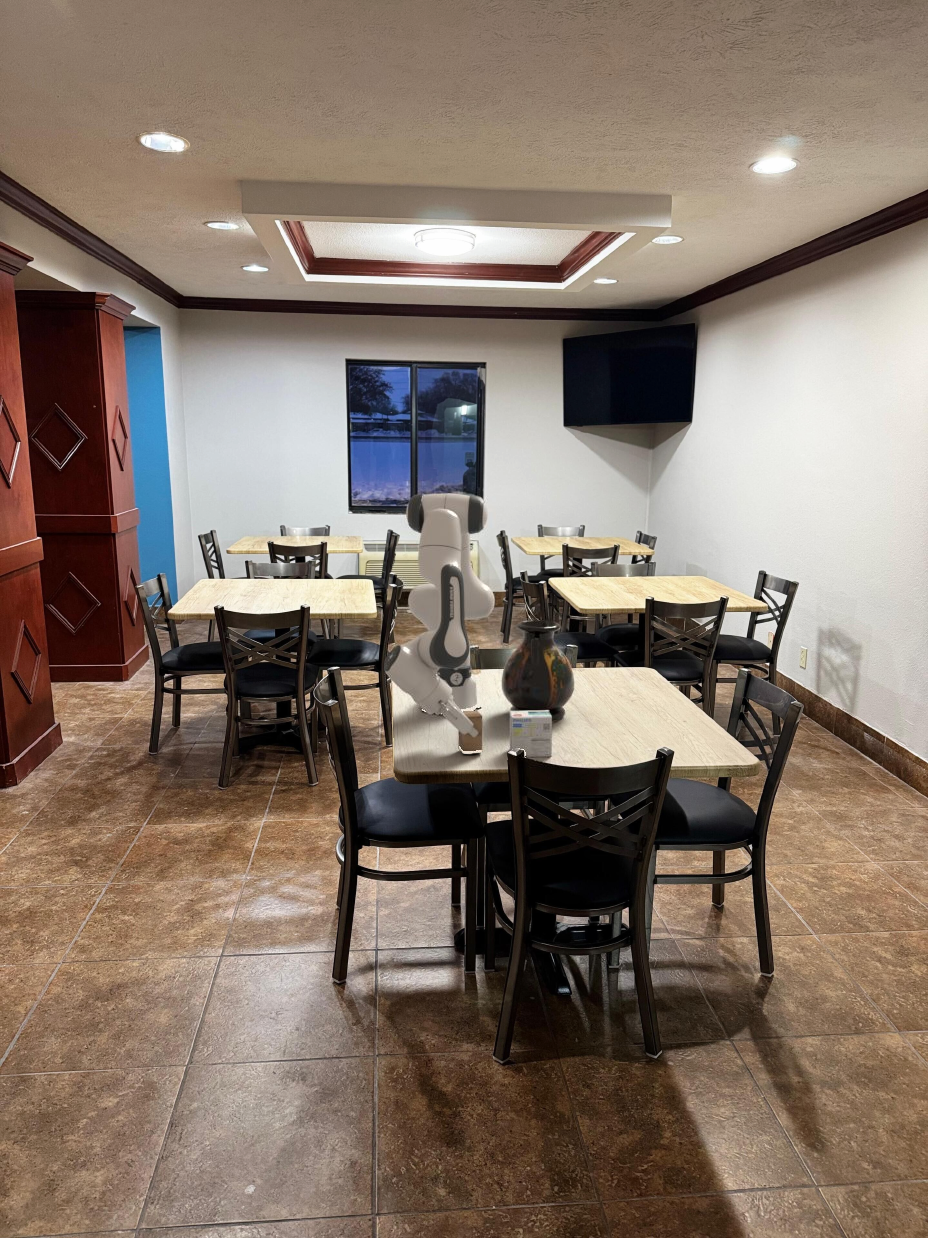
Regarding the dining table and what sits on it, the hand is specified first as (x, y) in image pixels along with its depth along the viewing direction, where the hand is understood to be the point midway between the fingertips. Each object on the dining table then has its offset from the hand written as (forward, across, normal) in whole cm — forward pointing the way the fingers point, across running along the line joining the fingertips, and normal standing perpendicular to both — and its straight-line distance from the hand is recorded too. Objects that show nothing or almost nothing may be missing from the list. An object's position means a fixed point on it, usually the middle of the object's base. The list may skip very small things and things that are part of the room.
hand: (472, 730), depth 218 cm
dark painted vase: (+24, +27, -15) cm, 39 cm away
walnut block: (+3, 0, +4) cm, 5 cm away
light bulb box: (+14, -4, -6) cm, 16 cm away
